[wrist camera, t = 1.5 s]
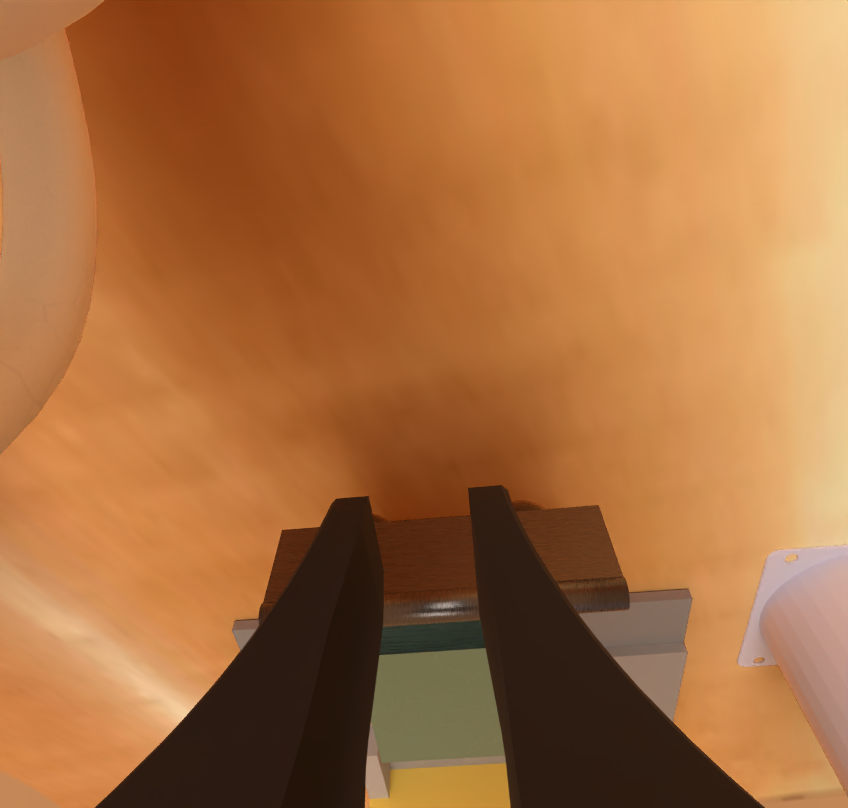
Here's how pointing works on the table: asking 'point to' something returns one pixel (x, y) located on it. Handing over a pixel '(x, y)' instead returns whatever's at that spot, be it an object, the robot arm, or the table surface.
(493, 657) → the robot arm
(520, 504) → the toy cart
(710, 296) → the table surface
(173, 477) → the table surface
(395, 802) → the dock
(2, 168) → the pitcher
